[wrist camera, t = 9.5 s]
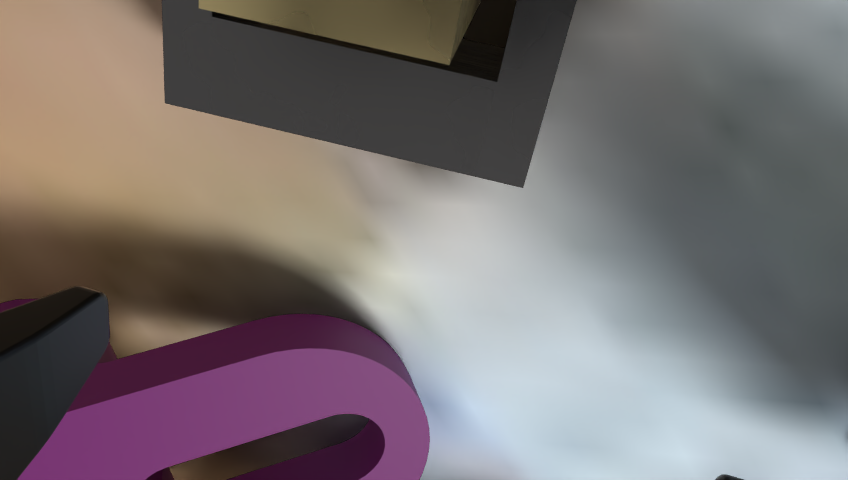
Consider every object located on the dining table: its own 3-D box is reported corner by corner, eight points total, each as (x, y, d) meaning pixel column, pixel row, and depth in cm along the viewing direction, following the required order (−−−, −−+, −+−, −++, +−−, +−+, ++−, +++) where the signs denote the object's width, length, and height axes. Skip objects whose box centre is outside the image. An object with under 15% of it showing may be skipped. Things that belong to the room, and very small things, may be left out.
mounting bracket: (357, 210, 29) (-103, 329, 26) (406, 313, 22) (-226, 496, 19) (395, 381, 33) (7, 499, 30) (446, 514, 26) (-57, 688, 23)
